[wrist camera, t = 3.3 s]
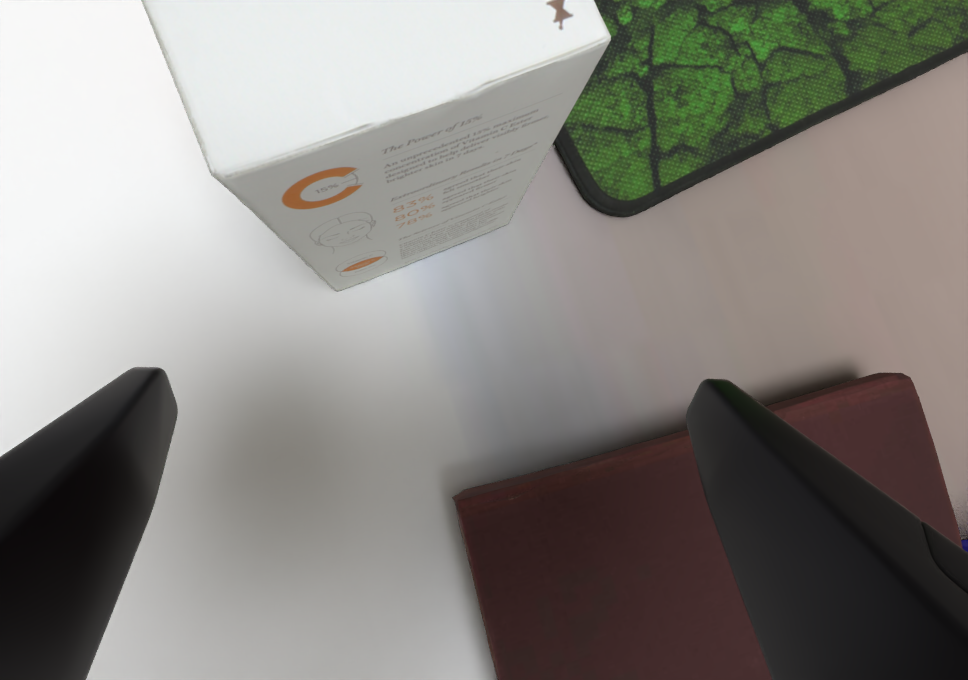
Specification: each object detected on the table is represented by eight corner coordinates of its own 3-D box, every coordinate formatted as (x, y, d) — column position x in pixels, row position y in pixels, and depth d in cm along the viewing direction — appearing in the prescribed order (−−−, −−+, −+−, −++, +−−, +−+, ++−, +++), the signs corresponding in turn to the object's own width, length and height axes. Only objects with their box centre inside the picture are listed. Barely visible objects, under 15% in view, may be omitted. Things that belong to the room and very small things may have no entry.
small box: (453, 90, 23) (495, -257, 11) (511, 225, 23) (624, 40, 10) (272, 154, 22) (73, -146, 9) (332, 296, 22) (212, 186, 9)
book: (449, 485, 22) (454, 504, 19) (859, 370, 25) (925, 370, 22) (523, 787, 22) (541, 859, 19) (932, 640, 24) (1011, 681, 21)
